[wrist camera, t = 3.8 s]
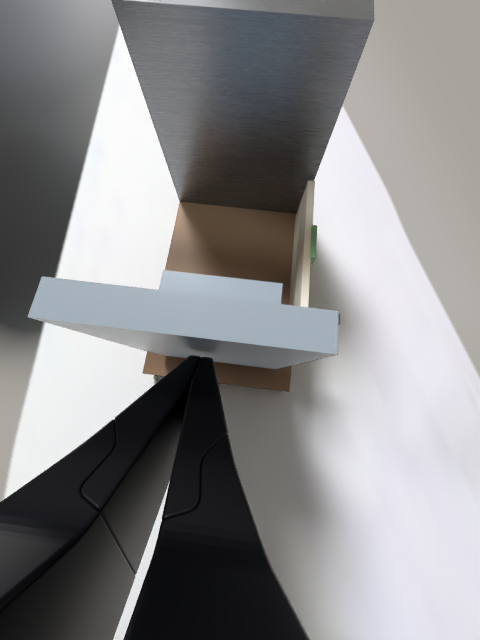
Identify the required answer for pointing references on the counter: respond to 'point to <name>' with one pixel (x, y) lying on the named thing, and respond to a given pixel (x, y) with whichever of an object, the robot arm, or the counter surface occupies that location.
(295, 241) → the gauge frame
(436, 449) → the counter surface
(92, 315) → the pale blue shelf board
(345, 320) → the counter surface
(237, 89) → the brushed steel plate
